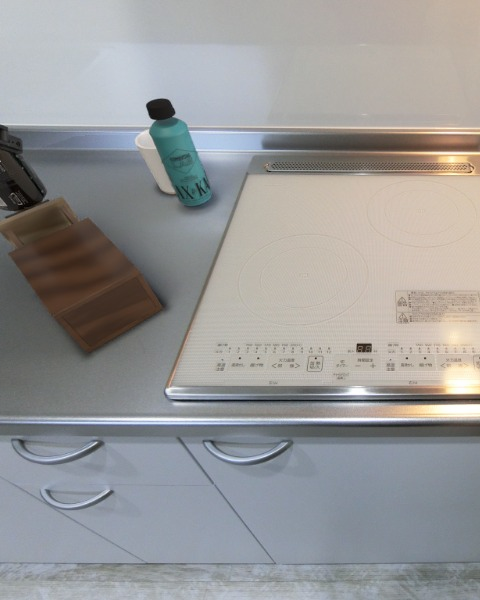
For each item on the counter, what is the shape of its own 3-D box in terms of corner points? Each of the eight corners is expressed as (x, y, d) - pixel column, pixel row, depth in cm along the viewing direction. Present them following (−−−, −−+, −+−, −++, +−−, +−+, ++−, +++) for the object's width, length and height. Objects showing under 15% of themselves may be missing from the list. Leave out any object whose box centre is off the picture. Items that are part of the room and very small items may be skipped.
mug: (210, 184, 91) (192, 137, 83) (167, 201, 87) (145, 154, 79) (187, 162, 96) (169, 117, 88) (147, 178, 92) (123, 131, 84)
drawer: (11, 242, 77) (-16, 211, 72) (72, 215, 82) (51, 184, 77) (57, 304, 68) (29, 273, 62) (123, 270, 73) (102, 239, 68)
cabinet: (43, 292, 71) (7, 253, 64) (114, 256, 76) (88, 217, 70) (87, 353, 63) (51, 316, 56) (163, 308, 68) (139, 269, 62)
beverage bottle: (175, 203, 86) (127, 102, 71) (205, 189, 89) (166, 89, 74) (192, 217, 83) (146, 115, 68) (222, 202, 86) (185, 101, 71)
